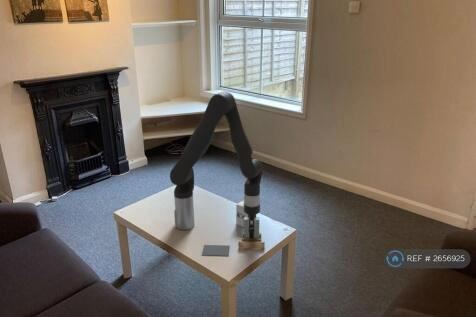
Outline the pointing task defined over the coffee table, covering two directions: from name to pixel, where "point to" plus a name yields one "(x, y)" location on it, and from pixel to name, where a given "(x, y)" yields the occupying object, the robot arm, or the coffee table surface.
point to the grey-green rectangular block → (246, 228)
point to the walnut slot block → (251, 239)
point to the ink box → (240, 214)
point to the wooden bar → (251, 245)
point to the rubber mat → (216, 250)
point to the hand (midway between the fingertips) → (251, 233)
